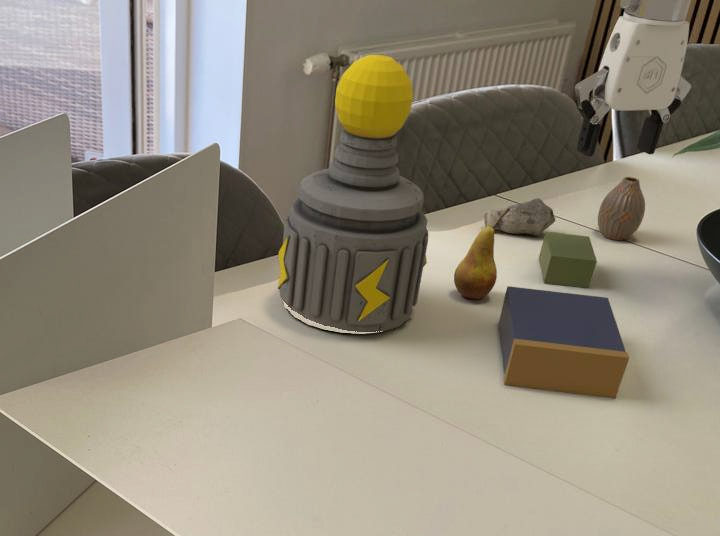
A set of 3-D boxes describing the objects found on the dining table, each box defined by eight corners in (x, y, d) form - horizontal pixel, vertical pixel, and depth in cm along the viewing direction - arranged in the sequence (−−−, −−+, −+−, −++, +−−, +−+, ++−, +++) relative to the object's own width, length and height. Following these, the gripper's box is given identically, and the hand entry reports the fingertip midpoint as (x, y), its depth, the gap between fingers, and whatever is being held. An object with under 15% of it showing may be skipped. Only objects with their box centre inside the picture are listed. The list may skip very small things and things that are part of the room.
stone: (477, 237, 160) (511, 216, 152) (478, 204, 160) (511, 181, 153) (526, 251, 164) (561, 231, 156) (527, 218, 164) (561, 197, 157)
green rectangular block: (582, 263, 151) (589, 236, 149) (589, 288, 144) (597, 260, 141) (538, 258, 152) (545, 231, 149) (543, 283, 144) (551, 255, 142)
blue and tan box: (597, 335, 132) (609, 296, 129) (615, 398, 119) (629, 357, 115) (497, 323, 133) (506, 285, 130) (504, 384, 120) (514, 344, 116)
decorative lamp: (295, 341, 125) (322, 74, 105) (262, 281, 139) (280, 35, 119) (435, 335, 129) (487, 76, 109) (390, 278, 142) (428, 38, 123)
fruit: (458, 284, 142) (476, 197, 134) (496, 295, 140) (517, 207, 132) (444, 297, 138) (462, 208, 130) (483, 308, 136) (504, 218, 129)
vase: (586, 236, 160) (602, 179, 155) (601, 225, 165) (617, 169, 159) (628, 247, 158) (646, 189, 152) (641, 235, 162) (659, 179, 156)
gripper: (615, 12, 120) (575, 163, 131) (732, 13, 125) (684, 159, 136) (581, 0, 125) (545, 146, 137) (695, 1, 130) (651, 142, 141)
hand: (614, 152), depth 136 cm, fingers open, 9 cm apart
